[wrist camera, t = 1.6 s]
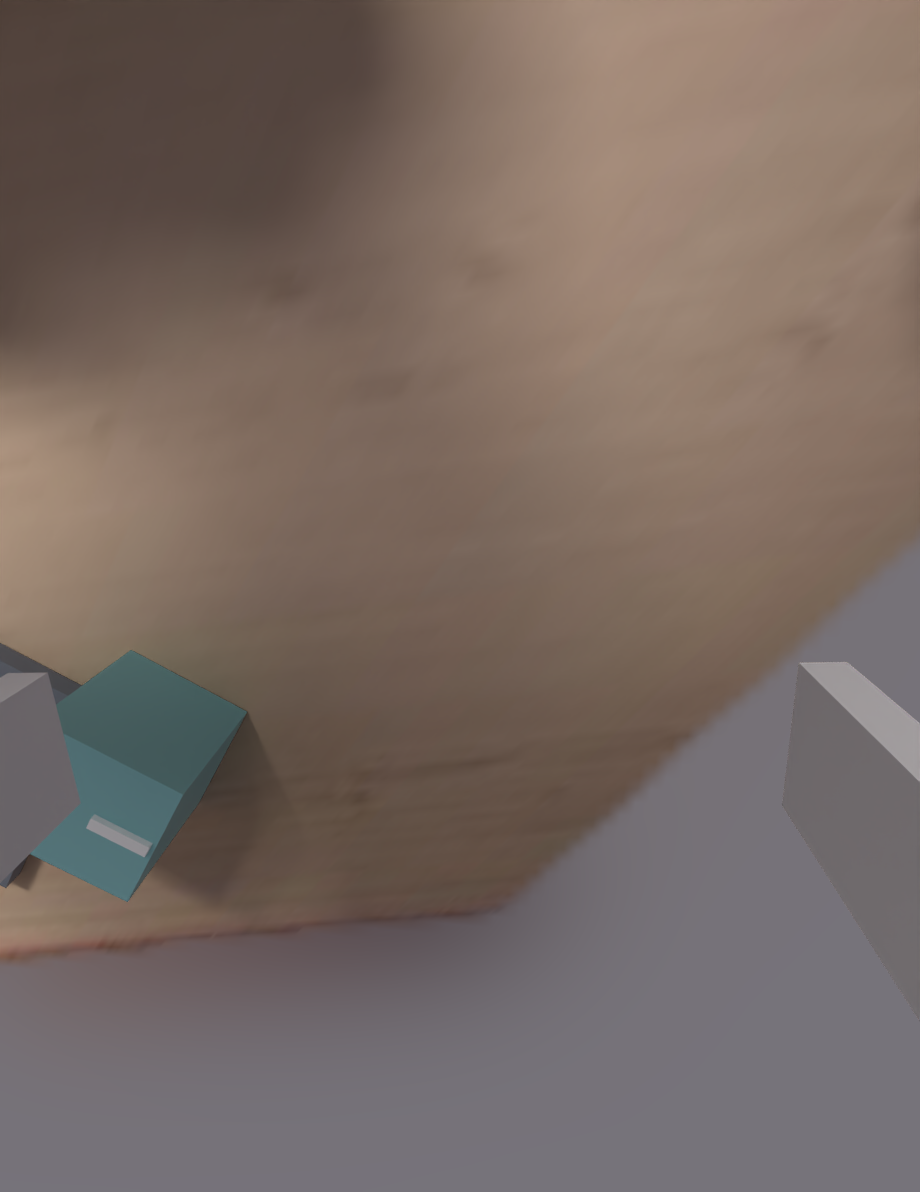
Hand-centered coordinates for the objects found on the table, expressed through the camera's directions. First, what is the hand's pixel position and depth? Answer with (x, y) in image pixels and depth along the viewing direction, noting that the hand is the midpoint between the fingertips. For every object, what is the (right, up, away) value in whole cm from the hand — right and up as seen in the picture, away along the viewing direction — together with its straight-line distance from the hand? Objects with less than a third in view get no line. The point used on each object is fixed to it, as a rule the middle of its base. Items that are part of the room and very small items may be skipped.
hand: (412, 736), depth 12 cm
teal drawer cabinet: (-15, -5, +25) cm, 29 cm away
